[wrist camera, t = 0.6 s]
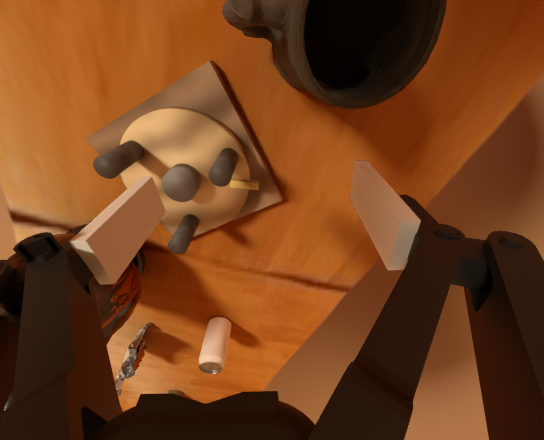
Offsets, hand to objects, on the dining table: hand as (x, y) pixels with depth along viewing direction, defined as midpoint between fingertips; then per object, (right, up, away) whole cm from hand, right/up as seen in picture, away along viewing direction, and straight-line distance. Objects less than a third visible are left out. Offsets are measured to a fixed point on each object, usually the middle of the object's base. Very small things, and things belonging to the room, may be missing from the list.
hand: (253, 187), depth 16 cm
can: (-13, -31, +51) cm, 61 cm away
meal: (-37, -36, +55) cm, 76 cm away
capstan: (-12, +5, +23) cm, 27 cm away
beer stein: (+5, +21, +16) cm, 27 cm away
